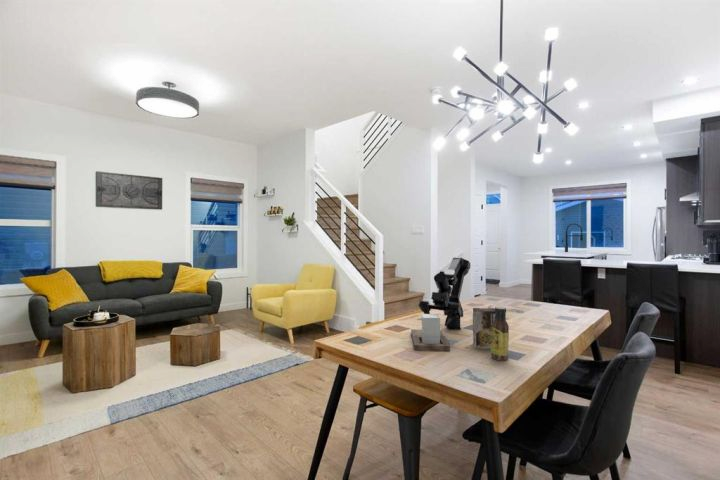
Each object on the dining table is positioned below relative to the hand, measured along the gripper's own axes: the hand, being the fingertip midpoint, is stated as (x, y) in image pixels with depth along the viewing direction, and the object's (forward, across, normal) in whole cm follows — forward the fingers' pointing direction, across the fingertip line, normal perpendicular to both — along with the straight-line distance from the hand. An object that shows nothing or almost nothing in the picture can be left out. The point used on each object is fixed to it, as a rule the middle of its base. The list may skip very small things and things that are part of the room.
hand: (435, 324), depth 160 cm
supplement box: (+9, 0, +2) cm, 10 cm away
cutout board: (+7, -2, +4) cm, 8 cm away
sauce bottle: (+11, +29, 0) cm, 31 cm away
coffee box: (+3, +21, +9) cm, 23 cm away
